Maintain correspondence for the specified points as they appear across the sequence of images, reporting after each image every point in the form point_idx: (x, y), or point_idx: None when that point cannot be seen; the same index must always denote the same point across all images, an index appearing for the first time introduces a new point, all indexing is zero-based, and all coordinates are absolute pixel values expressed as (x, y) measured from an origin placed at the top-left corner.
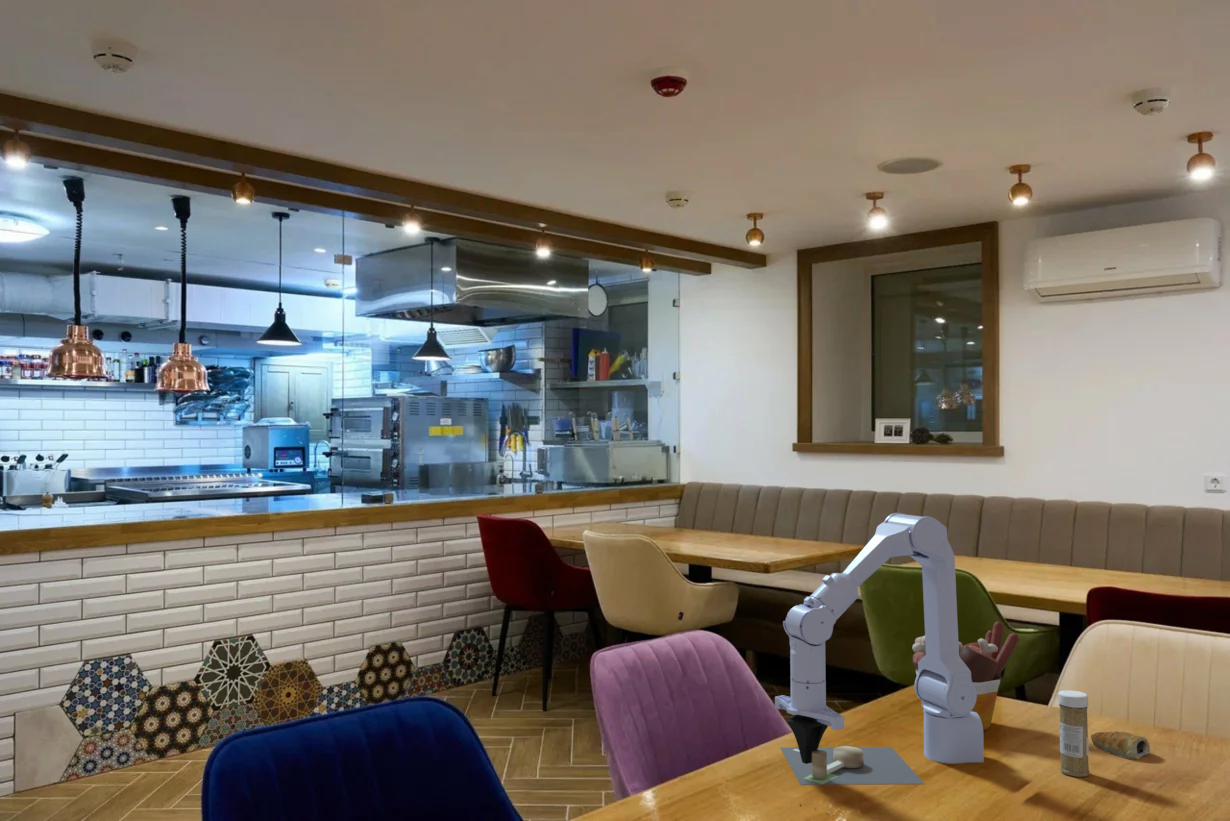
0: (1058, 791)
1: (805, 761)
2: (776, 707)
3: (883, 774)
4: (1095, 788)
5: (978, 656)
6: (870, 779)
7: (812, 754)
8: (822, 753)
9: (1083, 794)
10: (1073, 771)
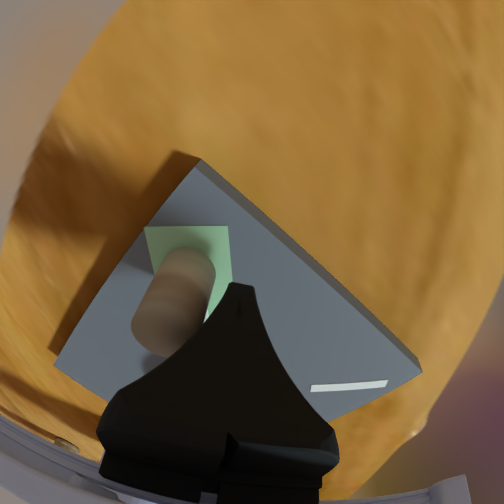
0: (29, 407)
1: (229, 286)
2: (457, 480)
3: (120, 373)
4: (31, 420)
5: None
6: (107, 339)
7: (175, 308)
8: (144, 332)
9: (19, 407)
10: (57, 442)
